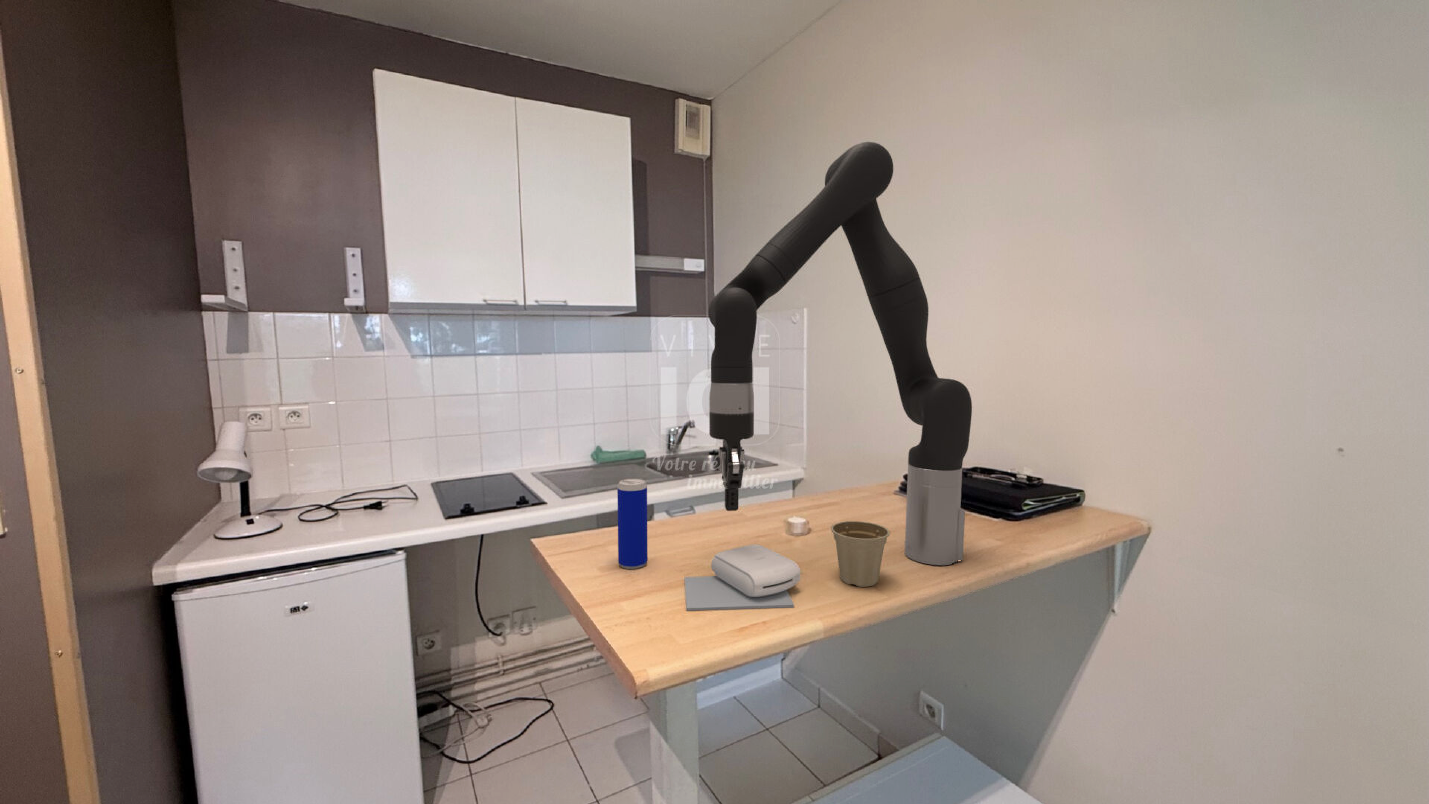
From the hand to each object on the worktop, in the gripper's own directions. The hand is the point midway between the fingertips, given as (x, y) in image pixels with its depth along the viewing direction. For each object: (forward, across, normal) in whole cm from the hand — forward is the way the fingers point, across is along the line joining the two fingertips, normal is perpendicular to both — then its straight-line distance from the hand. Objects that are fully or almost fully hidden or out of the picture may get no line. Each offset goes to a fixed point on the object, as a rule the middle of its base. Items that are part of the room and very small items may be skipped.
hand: (731, 509), depth 93 cm
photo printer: (+8, -1, 0) cm, 8 cm away
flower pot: (+11, -6, -21) cm, 24 cm away
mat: (+11, -9, 0) cm, 14 cm away
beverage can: (+11, +4, +17) cm, 21 cm away
